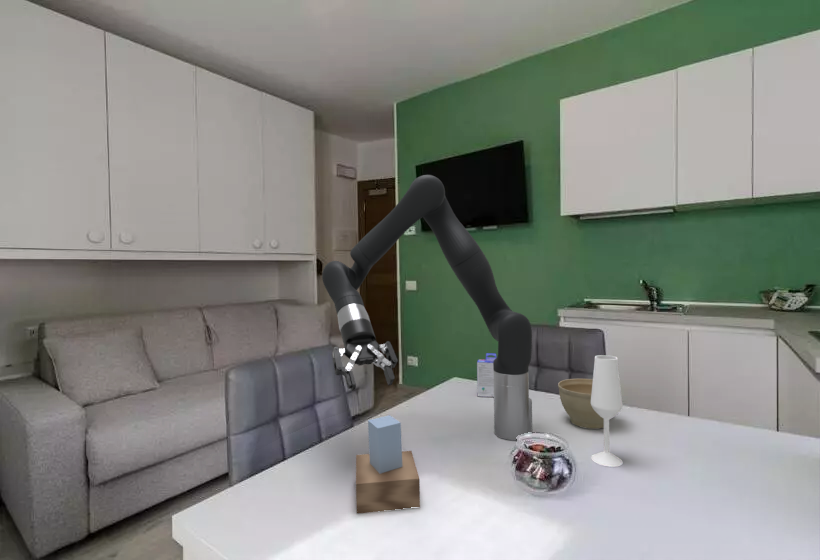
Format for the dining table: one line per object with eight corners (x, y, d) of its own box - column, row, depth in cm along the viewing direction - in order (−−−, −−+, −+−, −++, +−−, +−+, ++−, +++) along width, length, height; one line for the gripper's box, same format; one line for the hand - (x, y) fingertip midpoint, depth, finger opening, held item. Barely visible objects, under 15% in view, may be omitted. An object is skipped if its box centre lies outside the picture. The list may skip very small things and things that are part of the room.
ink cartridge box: (506, 393, 147) (505, 352, 147) (506, 398, 142) (505, 356, 142) (477, 392, 149) (477, 352, 149) (477, 396, 144) (476, 355, 144)
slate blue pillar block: (391, 457, 88) (389, 415, 87) (402, 466, 83) (400, 422, 83) (369, 463, 85) (367, 420, 85) (379, 473, 81) (377, 428, 81)
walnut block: (412, 477, 91) (411, 450, 91) (420, 509, 79) (419, 478, 79) (356, 482, 89) (356, 454, 89) (356, 515, 78) (355, 484, 77)
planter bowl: (622, 419, 121) (622, 382, 121) (616, 439, 107) (616, 397, 107) (565, 409, 130) (564, 375, 129) (552, 427, 116) (552, 389, 116)
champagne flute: (626, 459, 96) (626, 356, 96) (617, 469, 92) (617, 362, 91) (596, 450, 101) (596, 353, 100) (586, 460, 96) (585, 358, 95)
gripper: (328, 319, 95) (343, 381, 85) (386, 315, 100) (407, 372, 90) (324, 339, 100) (337, 399, 90) (379, 333, 105) (398, 390, 95)
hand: (372, 386), depth 90 cm, fingers open, 8 cm apart
